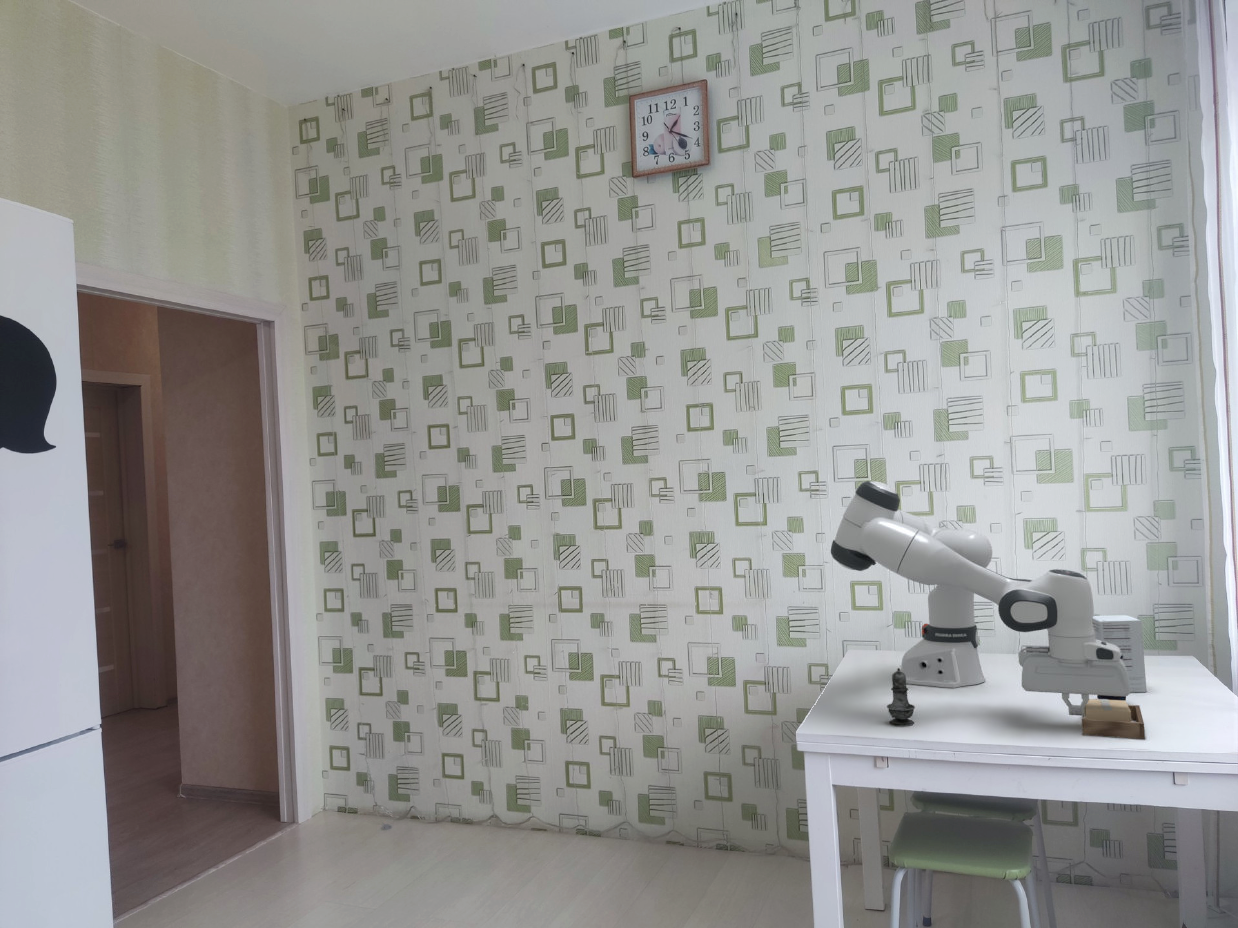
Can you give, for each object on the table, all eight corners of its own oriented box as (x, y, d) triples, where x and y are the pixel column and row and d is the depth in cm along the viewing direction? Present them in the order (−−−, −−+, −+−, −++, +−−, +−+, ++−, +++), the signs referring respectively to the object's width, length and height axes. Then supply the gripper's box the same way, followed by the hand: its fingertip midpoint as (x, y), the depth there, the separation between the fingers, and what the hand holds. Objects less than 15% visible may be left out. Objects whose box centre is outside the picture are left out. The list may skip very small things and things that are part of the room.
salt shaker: (883, 720, 197) (880, 665, 198) (909, 718, 198) (906, 664, 198) (893, 727, 192) (890, 671, 192) (920, 725, 192) (917, 669, 192)
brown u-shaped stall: (1082, 734, 179) (1081, 719, 180) (1082, 716, 192) (1081, 702, 192) (1145, 738, 175) (1144, 723, 175) (1140, 719, 188) (1139, 705, 188)
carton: (1087, 731, 183) (1086, 708, 183) (1083, 719, 191) (1082, 698, 191) (1132, 733, 180) (1130, 710, 180) (1126, 721, 188) (1125, 699, 188)
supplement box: (1147, 692, 209) (1142, 620, 209) (1104, 692, 211) (1100, 621, 211) (1133, 683, 218) (1128, 614, 219) (1091, 683, 220) (1087, 615, 220)
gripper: (1016, 648, 188) (1021, 714, 188) (1128, 652, 179) (1133, 722, 179) (1018, 643, 194) (1022, 707, 194) (1127, 646, 185) (1131, 714, 184)
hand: (1076, 714), depth 186 cm, fingers closed
